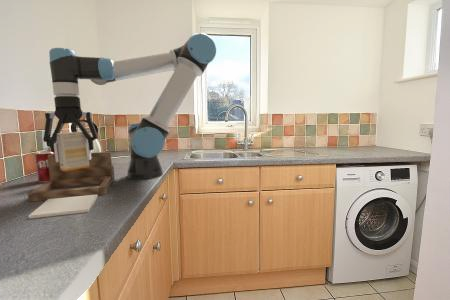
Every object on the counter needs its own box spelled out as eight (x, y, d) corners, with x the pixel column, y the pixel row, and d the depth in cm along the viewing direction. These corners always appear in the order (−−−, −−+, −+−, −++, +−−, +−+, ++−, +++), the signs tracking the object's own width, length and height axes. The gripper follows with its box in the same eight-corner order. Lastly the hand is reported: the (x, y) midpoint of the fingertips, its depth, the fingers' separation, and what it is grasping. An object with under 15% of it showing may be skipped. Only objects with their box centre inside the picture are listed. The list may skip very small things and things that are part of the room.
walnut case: (115, 180, 104) (112, 151, 103) (107, 194, 85) (105, 159, 83) (52, 185, 97) (48, 154, 96) (29, 201, 78) (24, 164, 77)
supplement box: (84, 166, 94) (80, 131, 92) (90, 167, 91) (86, 131, 89) (59, 170, 87) (55, 132, 86) (64, 171, 84) (60, 133, 83)
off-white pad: (97, 196, 82) (97, 194, 82) (88, 211, 69) (88, 209, 69) (48, 201, 78) (48, 199, 78) (28, 218, 65) (28, 215, 65)
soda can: (36, 180, 104) (32, 152, 103) (56, 177, 110) (53, 150, 108) (40, 183, 99) (36, 154, 98) (61, 180, 105) (58, 152, 103)
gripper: (103, 97, 92) (109, 156, 95) (34, 97, 86) (42, 161, 89) (99, 95, 85) (106, 159, 88) (24, 95, 79) (33, 164, 82)
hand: (74, 160), depth 89 cm, fingers closed on supplement box, 9 cm apart
